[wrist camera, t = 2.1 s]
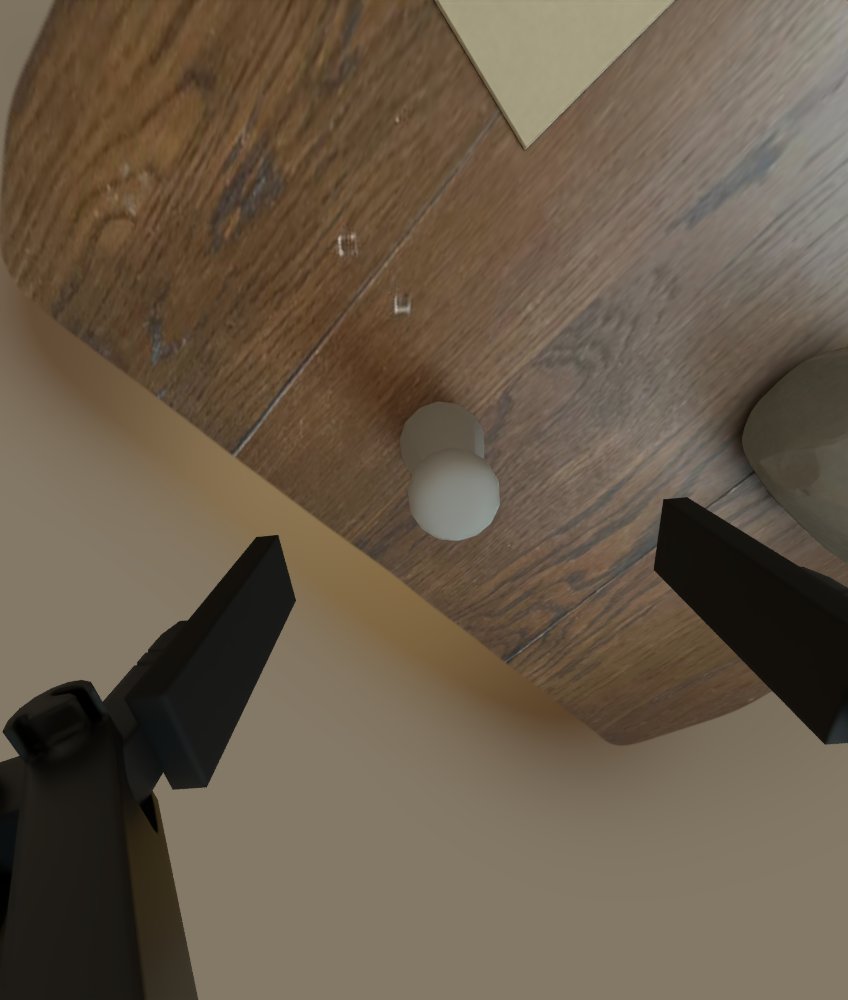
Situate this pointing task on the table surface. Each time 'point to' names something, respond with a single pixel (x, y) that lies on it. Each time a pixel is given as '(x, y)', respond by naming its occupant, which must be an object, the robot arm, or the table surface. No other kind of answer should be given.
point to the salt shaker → (448, 472)
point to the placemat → (544, 50)
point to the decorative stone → (806, 447)
